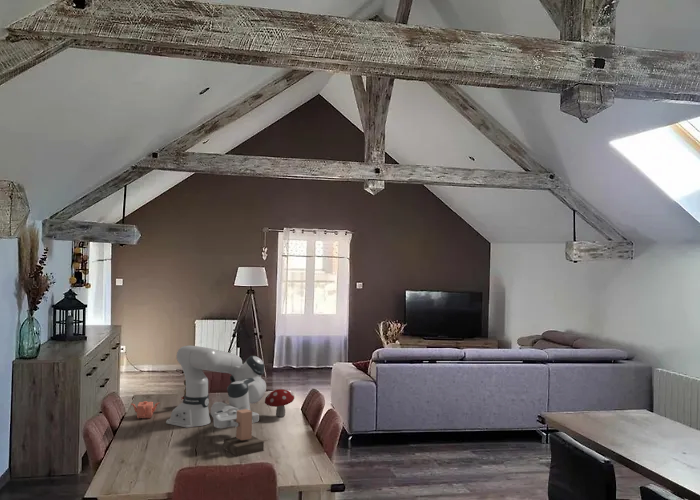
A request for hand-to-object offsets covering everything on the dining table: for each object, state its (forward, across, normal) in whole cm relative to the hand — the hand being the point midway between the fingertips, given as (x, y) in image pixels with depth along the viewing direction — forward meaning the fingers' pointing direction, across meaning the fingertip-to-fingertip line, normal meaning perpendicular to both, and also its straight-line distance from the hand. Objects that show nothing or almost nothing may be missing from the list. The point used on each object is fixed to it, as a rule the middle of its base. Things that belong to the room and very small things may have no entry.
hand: (245, 423), depth 266 cm
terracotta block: (-1, 0, -6) cm, 7 cm away
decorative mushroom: (-38, -40, -12) cm, 56 cm away
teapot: (-77, +18, -12) cm, 80 cm away
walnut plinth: (-1, 0, -12) cm, 12 cm away
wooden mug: (-83, -9, -12) cm, 84 cm away
